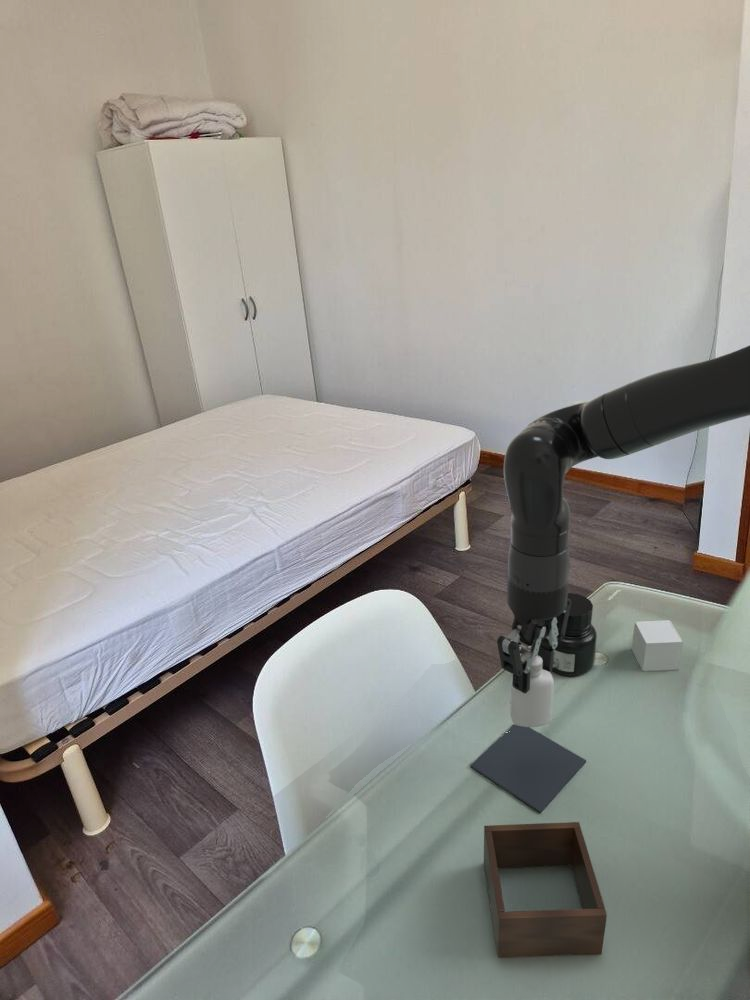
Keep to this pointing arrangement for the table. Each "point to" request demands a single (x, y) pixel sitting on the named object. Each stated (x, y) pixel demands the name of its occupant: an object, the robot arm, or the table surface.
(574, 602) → the ink bottle
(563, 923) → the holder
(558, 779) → the mat
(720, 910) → the table surface
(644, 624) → the grey cube
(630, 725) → the table surface
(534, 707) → the eye dropper bottle
